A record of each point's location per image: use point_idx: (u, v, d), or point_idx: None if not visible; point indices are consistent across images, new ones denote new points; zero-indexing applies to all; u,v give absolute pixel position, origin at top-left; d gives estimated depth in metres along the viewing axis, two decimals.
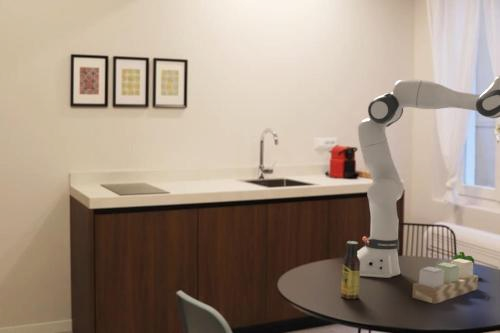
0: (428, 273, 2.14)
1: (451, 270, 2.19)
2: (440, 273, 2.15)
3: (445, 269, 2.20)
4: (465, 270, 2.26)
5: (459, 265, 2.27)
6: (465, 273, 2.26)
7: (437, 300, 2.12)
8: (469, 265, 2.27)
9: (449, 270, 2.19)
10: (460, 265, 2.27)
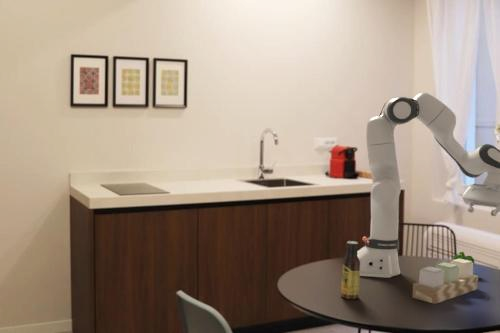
0: (428, 273, 2.14)
1: (451, 270, 2.19)
2: (440, 273, 2.15)
3: (445, 269, 2.20)
4: (465, 270, 2.26)
5: (459, 265, 2.27)
6: (465, 273, 2.26)
7: (437, 300, 2.12)
8: (469, 265, 2.27)
9: (449, 270, 2.19)
10: (460, 265, 2.27)
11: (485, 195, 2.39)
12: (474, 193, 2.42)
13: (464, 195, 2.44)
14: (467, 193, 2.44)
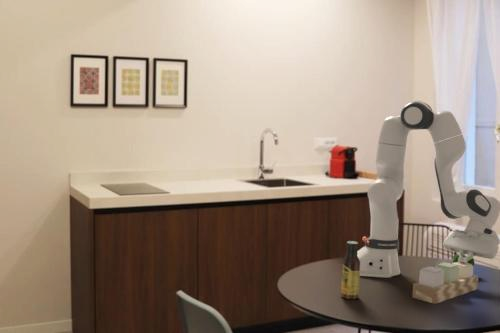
0: (428, 273, 2.14)
1: (451, 270, 2.19)
2: (440, 273, 2.15)
3: (445, 269, 2.20)
4: (465, 273, 2.26)
5: (459, 268, 2.27)
6: (465, 276, 2.26)
7: (437, 300, 2.12)
8: (469, 268, 2.28)
9: (449, 270, 2.19)
10: (460, 268, 2.27)
11: (466, 243, 2.32)
12: (455, 240, 2.36)
13: (445, 242, 2.38)
14: (448, 239, 2.38)
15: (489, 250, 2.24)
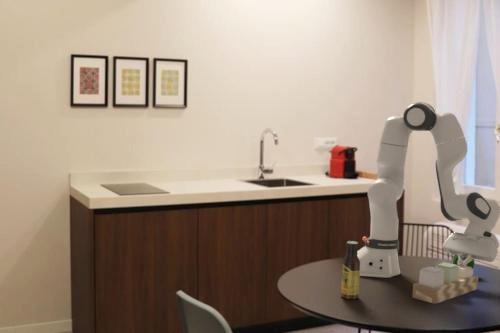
0: (428, 273, 2.14)
1: (451, 270, 2.19)
2: (440, 273, 2.15)
3: (445, 269, 2.20)
4: (465, 276, 2.26)
5: (459, 271, 2.27)
6: None
7: (437, 300, 2.12)
8: (469, 271, 2.28)
9: (449, 270, 2.19)
10: (460, 271, 2.27)
11: (465, 246, 2.32)
12: (454, 243, 2.36)
13: (444, 244, 2.38)
14: (447, 242, 2.38)
15: (489, 253, 2.24)
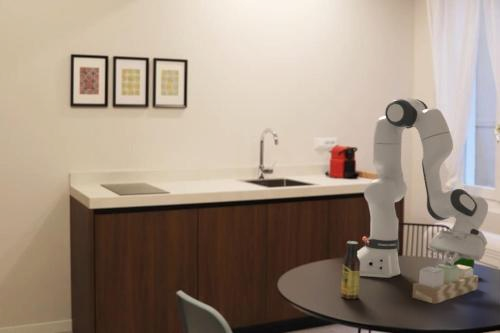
0: (428, 273, 2.14)
1: (451, 271, 2.19)
2: (440, 273, 2.15)
3: (445, 270, 2.20)
4: (465, 276, 2.26)
5: (459, 271, 2.27)
6: None
7: (437, 300, 2.12)
8: (469, 271, 2.28)
9: (449, 271, 2.19)
10: (460, 271, 2.27)
11: (452, 244, 2.25)
12: (441, 241, 2.29)
13: (431, 243, 2.31)
14: (434, 240, 2.31)
15: (476, 251, 2.17)
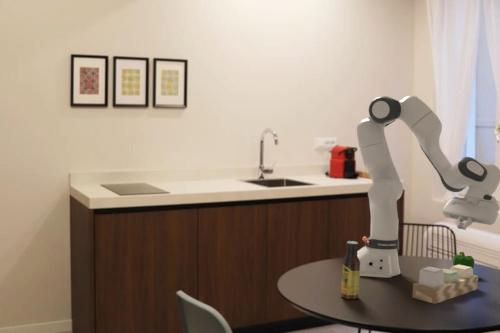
0: (428, 273, 2.14)
1: (451, 276, 2.19)
2: (440, 273, 2.15)
3: (445, 275, 2.20)
4: (465, 276, 2.26)
5: (459, 271, 2.27)
6: None
7: (437, 300, 2.12)
8: (469, 271, 2.28)
9: (449, 276, 2.19)
10: (460, 271, 2.27)
11: (465, 209, 2.30)
12: (454, 207, 2.34)
13: (444, 209, 2.36)
14: (447, 206, 2.36)
15: (488, 215, 2.22)
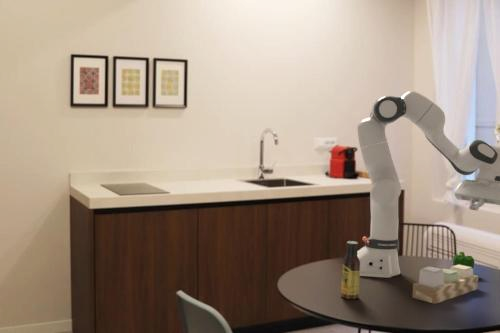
0: (428, 273, 2.14)
1: (451, 276, 2.19)
2: (440, 273, 2.15)
3: (445, 275, 2.20)
4: (465, 276, 2.26)
5: (459, 271, 2.27)
6: None
7: (437, 300, 2.12)
8: (469, 271, 2.28)
9: (449, 276, 2.19)
10: (460, 271, 2.27)
11: (477, 191, 2.36)
12: (466, 189, 2.40)
13: (456, 191, 2.42)
14: (459, 188, 2.42)
15: None
